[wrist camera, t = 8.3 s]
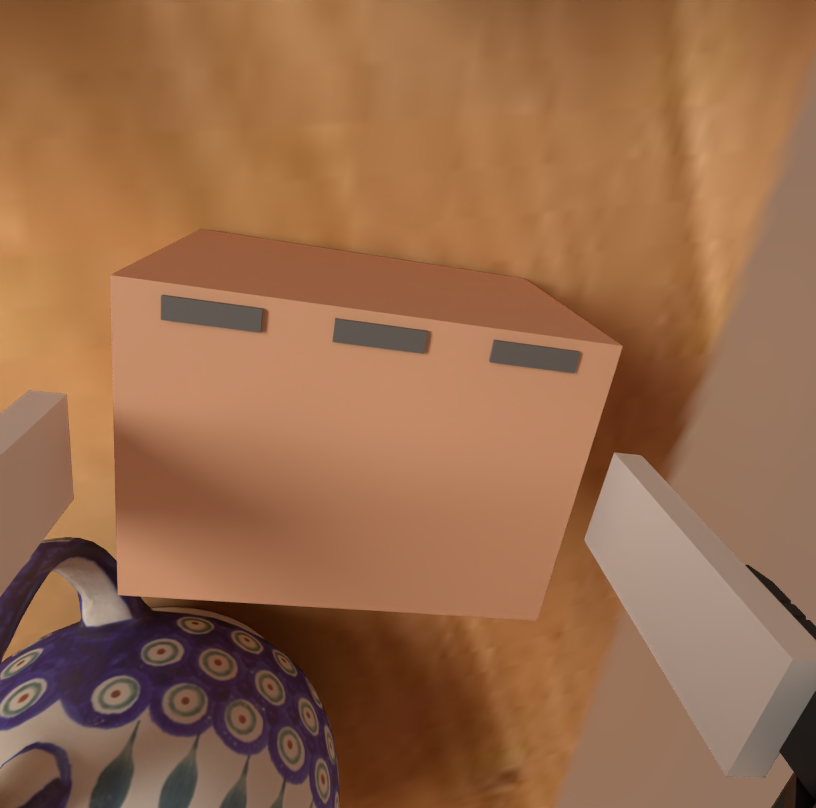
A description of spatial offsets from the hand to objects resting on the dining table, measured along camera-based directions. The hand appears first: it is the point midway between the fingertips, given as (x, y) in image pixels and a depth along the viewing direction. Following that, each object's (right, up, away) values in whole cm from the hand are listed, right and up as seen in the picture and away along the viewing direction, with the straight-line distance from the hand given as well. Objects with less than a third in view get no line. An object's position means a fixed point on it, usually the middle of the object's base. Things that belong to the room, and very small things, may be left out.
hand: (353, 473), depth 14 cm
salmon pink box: (-1, +3, +7) cm, 8 cm away
